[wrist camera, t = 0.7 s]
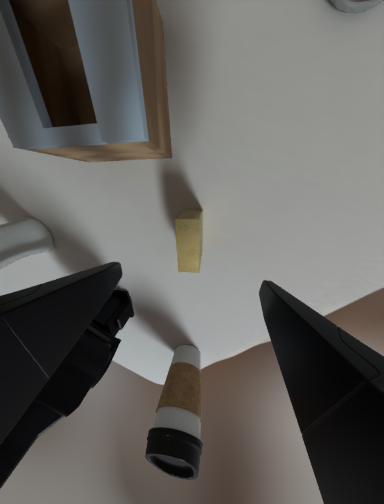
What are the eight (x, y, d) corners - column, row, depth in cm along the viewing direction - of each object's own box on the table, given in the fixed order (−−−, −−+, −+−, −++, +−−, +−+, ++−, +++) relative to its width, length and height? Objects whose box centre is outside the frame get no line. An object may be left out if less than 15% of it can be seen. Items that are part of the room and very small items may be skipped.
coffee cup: (183, 366, 35) (166, 478, 22) (162, 346, 33) (128, 458, 19) (212, 358, 32) (213, 482, 19) (192, 336, 30) (175, 460, 16)
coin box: (88, 162, 18) (14, 147, 11) (54, 42, 14) (-98, -97, 7) (171, 157, 17) (144, 137, 10) (162, 22, 12) (102, -175, 6)
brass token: (186, 250, 22) (178, 271, 16) (185, 210, 19) (174, 219, 14) (202, 250, 21) (199, 272, 16) (202, 209, 19) (199, 219, 13)
